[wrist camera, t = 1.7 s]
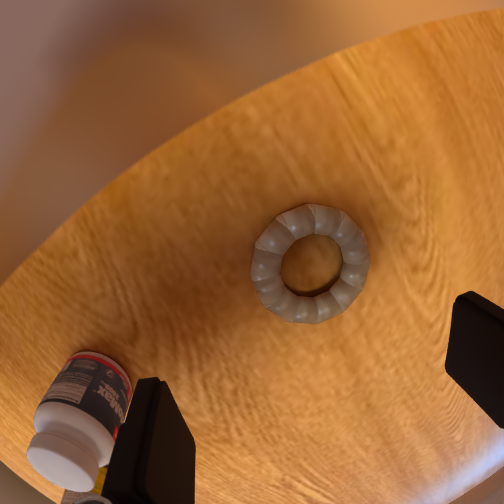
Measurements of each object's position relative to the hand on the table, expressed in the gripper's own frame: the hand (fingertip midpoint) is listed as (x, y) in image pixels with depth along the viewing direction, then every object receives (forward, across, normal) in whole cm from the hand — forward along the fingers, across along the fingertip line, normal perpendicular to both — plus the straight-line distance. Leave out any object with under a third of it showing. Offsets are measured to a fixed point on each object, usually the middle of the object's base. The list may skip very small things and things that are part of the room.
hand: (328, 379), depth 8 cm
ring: (+9, -2, 0) cm, 10 cm away
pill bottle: (+10, +13, +5) cm, 18 cm away
